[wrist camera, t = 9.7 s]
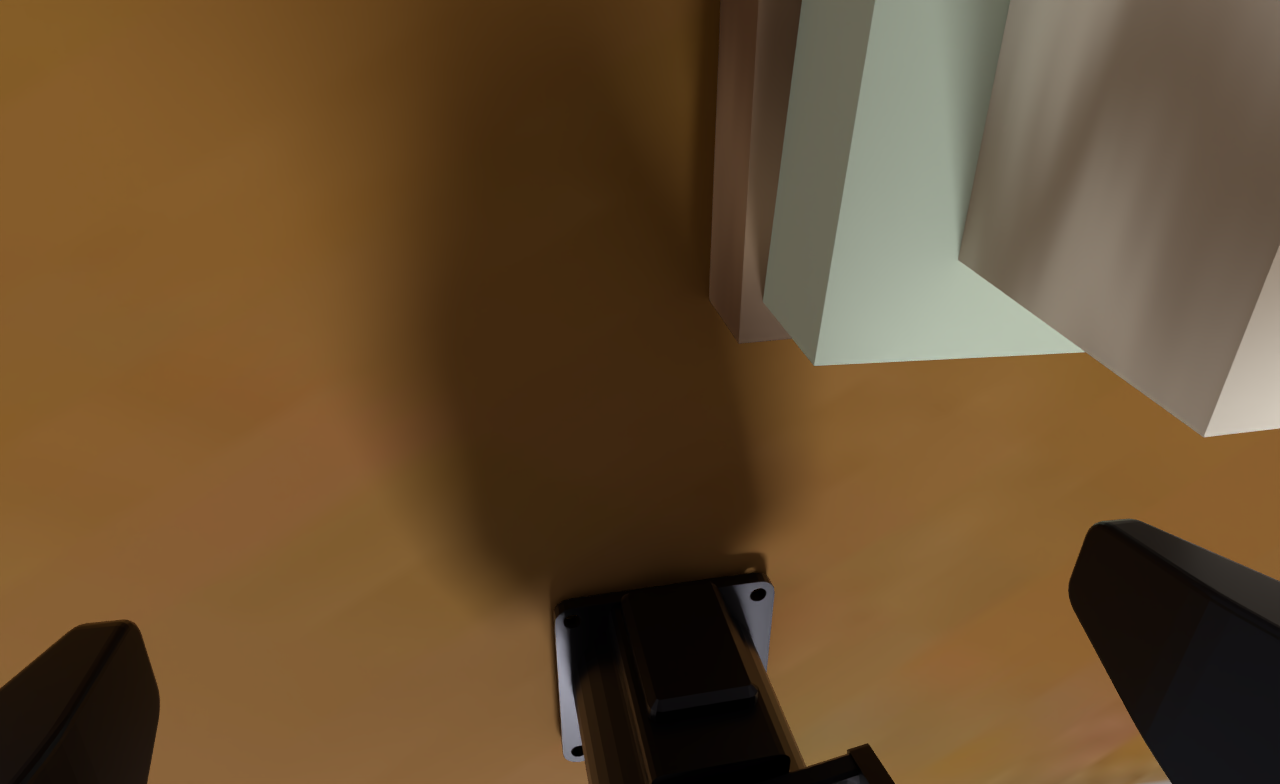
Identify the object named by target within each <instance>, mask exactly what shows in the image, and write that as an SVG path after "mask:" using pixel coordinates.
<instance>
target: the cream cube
mask: <svg viewBox="0 0 1280 784" xmlns="http://www.w3.org/2000/svg"><path fill="white" fill-rule="evenodd" d="M958 260H959V261H960V262H961V263H963V264H964V265H966V266H967V267H968V268H970V269H971V270H973V271H974V272H975V273H977V274H978V275H979V276H981V277H982V278H984V279H985V280H986V281H988V282H989V283H991V284H992V285H993V286H995V287H996V288H998V289H999V290H1000V291H1002V292H1003V293H1004V294H1006V295H1007V296H1009V297H1010V298H1011V299H1013V300H1014V301H1016V302H1017V303H1018V304H1020V305H1021V306H1022V307H1024V308H1025V309H1027V310H1028V311H1029V312H1031V313H1032V314H1034V315H1035V316H1036V317H1038V318H1039V319H1041V320H1042V321H1043V322H1045V323H1046V324H1047V325H1049V326H1050V327H1052V328H1053V329H1054V330H1056V331H1057V332H1059V333H1060V334H1061V335H1063V336H1064V337H1065V338H1067V339H1068V340H1070V341H1071V342H1072V343H1074V344H1075V345H1077V346H1078V347H1079V348H1081V349H1082V350H1083V351H1085V352H1086V353H1088V354H1089V355H1090V356H1092V357H1093V358H1095V359H1096V360H1097V361H1099V362H1100V363H1102V364H1103V365H1104V366H1106V367H1107V368H1108V369H1110V370H1111V371H1113V372H1114V373H1115V374H1117V375H1118V376H1120V377H1121V378H1122V379H1124V380H1125V381H1126V382H1128V383H1129V384H1131V385H1132V386H1133V387H1135V388H1136V389H1138V390H1139V391H1140V392H1142V393H1143V394H1144V395H1146V396H1147V397H1149V398H1150V399H1151V400H1153V401H1154V402H1156V403H1157V404H1158V405H1160V406H1161V407H1163V408H1164V409H1165V410H1167V411H1168V412H1169V413H1171V414H1172V415H1174V416H1175V417H1176V418H1178V419H1179V420H1181V421H1182V422H1183V423H1185V424H1186V425H1187V426H1189V427H1190V428H1192V429H1193V430H1194V431H1196V432H1197V433H1199V434H1200V435H1201V436H1203V437H1209V436H1218V435H1226V434H1235V433H1243V432H1252V431H1260V430H1269V429H1278V428H1280V0H1010V4H1009V9H1008V14H1007V19H1006V24H1005V29H1004V34H1003V38H1002V43H1001V48H1000V53H999V58H998V63H997V68H996V73H995V78H994V83H993V88H992V93H991V98H990V103H989V107H988V112H987V117H986V122H985V127H984V132H983V137H982V142H981V147H980V152H979V157H978V162H977V167H976V172H975V177H974V182H973V187H972V192H971V197H970V202H969V207H968V212H967V217H966V222H965V227H964V232H963V237H962V242H961V247H960V252H959V257H958Z"/></svg>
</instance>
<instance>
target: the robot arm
mask: <svg viewBox="0 0 1280 784" xmlns="http://www.w3.org/2000/svg"><path fill="white" fill-rule="evenodd" d="M758 588H760V589H759V590H758V591H756V592H752V591H754V590H755V589H758ZM1068 592H1069V599H1070V602H1071V605H1072V607H1073V610H1074V611H1075V613H1076V615H1077V617H1078V619H1079V621H1080V623H1081V625H1082V626H1083V628H1084V630H1085V632H1086V634H1087V636H1088V638H1089V640H1090V641H1091V643H1092V645H1093V647H1094V649H1095V651H1096V653H1097V655H1098V656H1099V658H1100V660H1101V662H1102V664H1103V666H1104V668H1105V669H1106V671H1107V673H1108V675H1109V677H1110V679H1111V681H1112V683H1113V684H1114V686H1115V688H1116V690H1117V692H1118V694H1119V696H1120V698H1121V699H1122V701H1123V703H1124V705H1125V707H1126V709H1127V711H1128V713H1129V714H1130V716H1131V718H1132V720H1133V722H1134V723H1135V725H1136V727H1137V729H1138V730H1139V732H1140V734H1141V736H1142V738H1143V739H1144V741H1145V743H1146V744H1147V746H1148V747H1149V749H1150V751H1151V752H1152V754H1153V755H1154V757H1155V759H1156V760H1157V762H1158V763H1159V765H1160V766H1161V768H1162V769H1163V771H1164V772H1165V774H1166V775H1167V777H1168V778H1169V780H1170V782H1171V783H1172V784H1280V581H1278V580H1276V579H1273V578H1271V577H1269V576H1266V575H1264V574H1262V573H1260V572H1257V571H1255V570H1253V569H1250V568H1248V567H1246V566H1243V565H1241V564H1239V563H1236V562H1234V561H1232V560H1230V559H1227V558H1225V557H1223V556H1220V555H1218V554H1216V553H1213V552H1211V551H1209V550H1206V549H1204V548H1202V547H1199V546H1197V545H1195V544H1193V543H1190V542H1188V541H1186V540H1183V539H1181V538H1179V537H1176V536H1174V535H1172V534H1169V533H1167V532H1165V531H1163V530H1160V529H1158V528H1156V527H1153V526H1151V525H1149V524H1146V523H1144V522H1142V521H1139V520H1135V519H1119V520H1109V521H1101V522H1098V523H1095V524H1094V525H1093V526H1092V527H1091V528H1090V529H1089V530H1088V532H1087V534H1086V536H1085V539H1084V542H1083V545H1082V547H1081V550H1080V553H1079V556H1078V558H1077V561H1076V564H1075V567H1074V569H1073V572H1072V575H1071V578H1070V581H1069V588H1068ZM773 602H774V587H773V585H772V583H771V581H770V579H769V578H768V576H767V575H765V574H763V573H750V574H743V575H736V576H729V577H721V578H714V579H707V580H700V581H693V582H686V583H679V584H672V585H665V586H657V587H650V588H643V589H636V590H629V591H622V592H615V593H608V594H600V595H593V596H586V597H579V598H572V599H567V600H564V601H562V602H561V603H559V604H558V605H557V606H556V607H555V609H554V613H553V620H554V635H555V650H556V665H557V680H558V696H559V711H560V726H561V741H562V749H563V755H564V757H565V758H566V759H567V760H568V761H572V762H580V761H585V765H586V771H587V777H588V782H589V784H895V783H894V781H893V780H892V778H891V777H890V775H889V774H888V772H887V771H886V769H885V768H884V766H883V765H882V763H881V762H880V760H879V759H878V757H877V756H876V754H875V753H874V751H873V750H872V748H871V747H870V745H869V744H868V743H867V744H864V745H861V746H858V747H855V748H851V749H848V750H847V754H845V755H842V756H839V757H836V758H833V759H830V760H827V761H823V762H820V763H817V764H814V765H811V766H808V767H806V765H805V763H804V760H803V758H802V756H801V753H800V751H799V748H798V746H797V744H796V741H795V739H794V737H793V734H792V732H791V730H790V727H789V725H788V723H787V720H786V718H785V716H784V713H783V711H782V708H781V706H780V704H779V701H778V699H777V697H776V694H775V692H774V690H773V687H772V685H771V683H770V680H769V678H768V675H767V673H766V672H767V662H768V652H769V642H770V632H771V622H772V612H773ZM570 615H577V616H576V617H574V618H571V619H569V618H566V617H568V616H570ZM159 712H160V697H159V690H158V686H157V683H156V679H155V676H154V673H153V670H152V667H151V663H150V660H149V657H148V654H147V651H146V648H145V644H144V641H143V638H142V635H141V632H140V630H139V628H138V627H137V625H136V624H135V623H134V622H132V621H129V620H115V621H105V622H95V623H86V624H82V625H79V626H77V627H75V628H73V629H72V630H70V631H69V632H67V633H66V634H65V635H64V636H63V637H61V638H60V639H59V640H58V641H57V642H55V643H54V644H53V645H52V646H51V647H49V648H48V649H47V650H46V651H45V652H43V653H42V654H41V655H40V656H39V657H37V658H36V659H35V660H34V661H33V662H31V663H30V664H29V665H28V666H27V667H25V668H24V669H23V670H22V671H21V672H19V673H18V674H17V675H16V676H15V677H13V678H12V679H11V680H10V681H9V682H7V683H6V684H5V685H4V686H3V687H1V688H0V784H147V781H148V776H149V770H150V765H151V759H152V754H153V748H154V742H155V737H156V731H157V726H158V720H159Z"/></svg>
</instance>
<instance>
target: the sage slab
mask: <svg viewBox="0 0 1280 784" xmlns="http://www.w3.org/2000/svg"><path fill="white" fill-rule="evenodd" d="M1009 4H1010V0H802V4H801V12H800V19H799V27H798V35H797V42H796V50H795V58H794V65H793V73H792V81H791V89H790V96H789V104H788V112H787V119H786V127H785V135H784V142H783V150H782V158H781V165H780V173H779V181H778V188H777V196H776V204H775V212H774V219H773V227H772V235H771V242H770V250H769V258H768V265H767V273H766V281H765V288H764V296H763V303H764V304H765V305H766V306H767V308H768V309H769V310H770V311H771V313H772V314H773V315H774V316H775V318H776V319H777V320H778V321H779V323H780V324H781V325H782V326H783V328H784V329H785V330H786V331H787V333H788V334H789V335H790V336H791V338H792V339H793V340H794V341H795V343H796V344H797V345H798V346H799V348H800V349H801V350H802V351H803V353H804V354H805V355H806V356H807V358H808V359H809V360H810V361H811V363H812V364H813V365H814V366H821V365H840V364H860V363H880V362H899V361H919V360H939V359H959V358H978V357H998V356H1018V355H1037V354H1057V353H1077V352H1085V351H1083V350H1082V349H1081V348H1079V347H1078V346H1077V345H1075V344H1074V343H1072V342H1071V341H1070V340H1068V339H1067V338H1065V337H1064V336H1063V335H1061V334H1060V333H1059V332H1057V331H1056V330H1054V329H1053V328H1052V327H1050V326H1049V325H1047V324H1046V323H1045V322H1043V321H1042V320H1041V319H1039V318H1038V317H1036V316H1035V315H1034V314H1032V313H1031V312H1029V311H1028V310H1027V309H1025V308H1024V307H1022V306H1021V305H1020V304H1018V303H1017V302H1016V301H1014V300H1013V299H1011V298H1010V297H1009V296H1007V295H1006V294H1004V293H1003V292H1002V291H1000V290H999V289H998V288H996V287H995V286H993V285H992V284H991V283H989V282H988V281H986V280H985V279H984V278H982V277H981V276H979V275H978V274H977V273H975V272H974V271H973V270H971V269H970V268H968V267H967V266H966V265H964V264H963V263H961V262H960V261H959V260H958V257H959V252H960V247H961V242H962V237H963V232H964V227H965V222H966V217H967V212H968V207H969V202H970V197H971V192H972V187H973V182H974V177H975V172H976V167H977V162H978V157H979V152H980V147H981V142H982V137H983V132H984V127H985V122H986V117H987V112H988V107H989V103H990V98H991V93H992V88H993V83H994V78H995V73H996V68H997V63H998V58H999V53H1000V48H1001V43H1002V38H1003V34H1004V29H1005V24H1006V19H1007V14H1008V9H1009Z"/></svg>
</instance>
